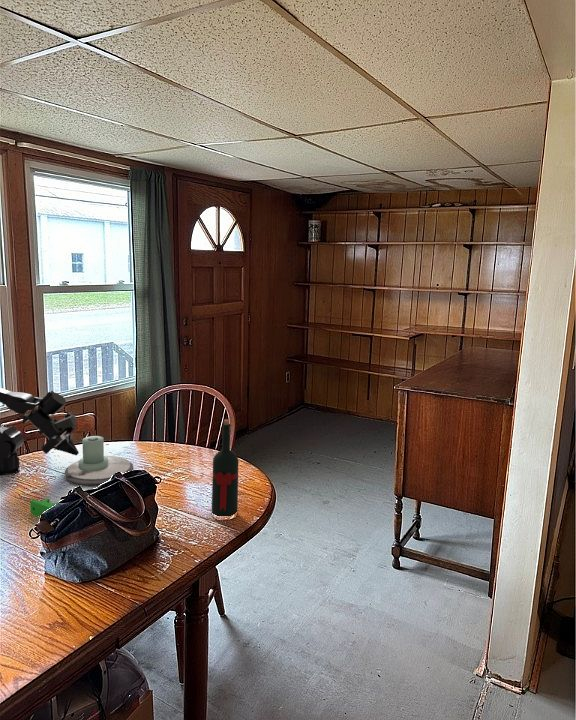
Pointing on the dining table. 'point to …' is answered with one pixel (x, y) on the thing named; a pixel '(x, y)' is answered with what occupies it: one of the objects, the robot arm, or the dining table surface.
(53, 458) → the dining table surface
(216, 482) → the wine bottle
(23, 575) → the dining table surface
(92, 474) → the turntable
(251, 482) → the dining table surface
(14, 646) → the dining table surface
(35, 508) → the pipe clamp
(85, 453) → the sage green cylinder
